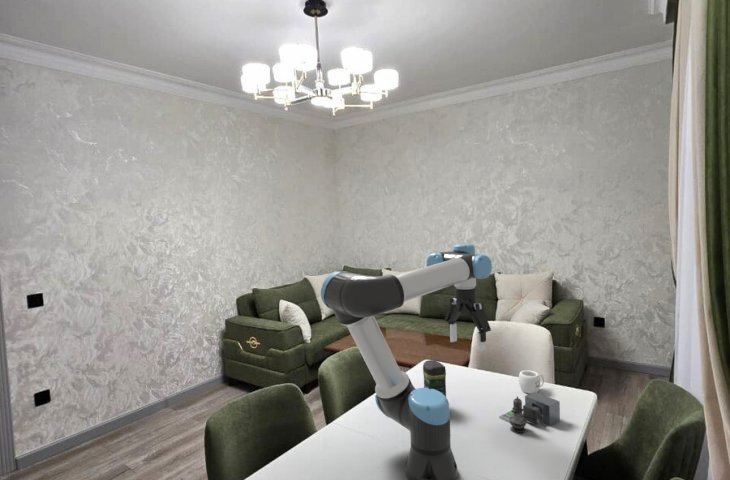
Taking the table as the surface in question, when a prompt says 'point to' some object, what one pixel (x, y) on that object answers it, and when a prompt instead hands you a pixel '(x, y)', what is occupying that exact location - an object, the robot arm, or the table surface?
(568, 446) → the table surface
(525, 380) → the mug
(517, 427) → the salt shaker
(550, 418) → the gauge
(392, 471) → the table surface
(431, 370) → the coffee jar
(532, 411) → the plunger
